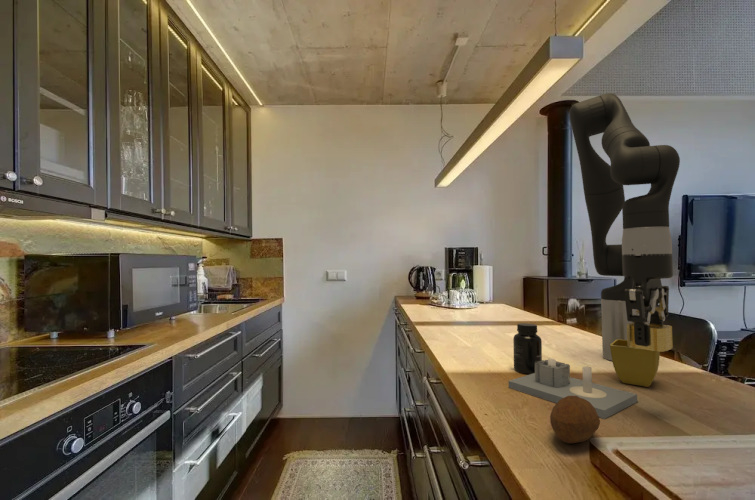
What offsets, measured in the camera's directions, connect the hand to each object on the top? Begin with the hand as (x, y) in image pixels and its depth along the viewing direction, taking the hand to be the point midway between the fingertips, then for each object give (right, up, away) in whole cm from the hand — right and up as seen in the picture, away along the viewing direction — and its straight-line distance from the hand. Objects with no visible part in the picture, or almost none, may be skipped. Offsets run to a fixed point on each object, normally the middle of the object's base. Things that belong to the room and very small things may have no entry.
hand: (649, 342), depth 67 cm
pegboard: (-10, -14, +10) cm, 19 cm away
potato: (-19, -13, -10) cm, 25 cm away
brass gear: (0, -1, 0) cm, 1 cm away
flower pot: (+10, -14, +17) cm, 24 cm away
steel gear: (-12, -12, +13) cm, 21 cm away
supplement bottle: (-11, -14, +27) cm, 32 cm away
